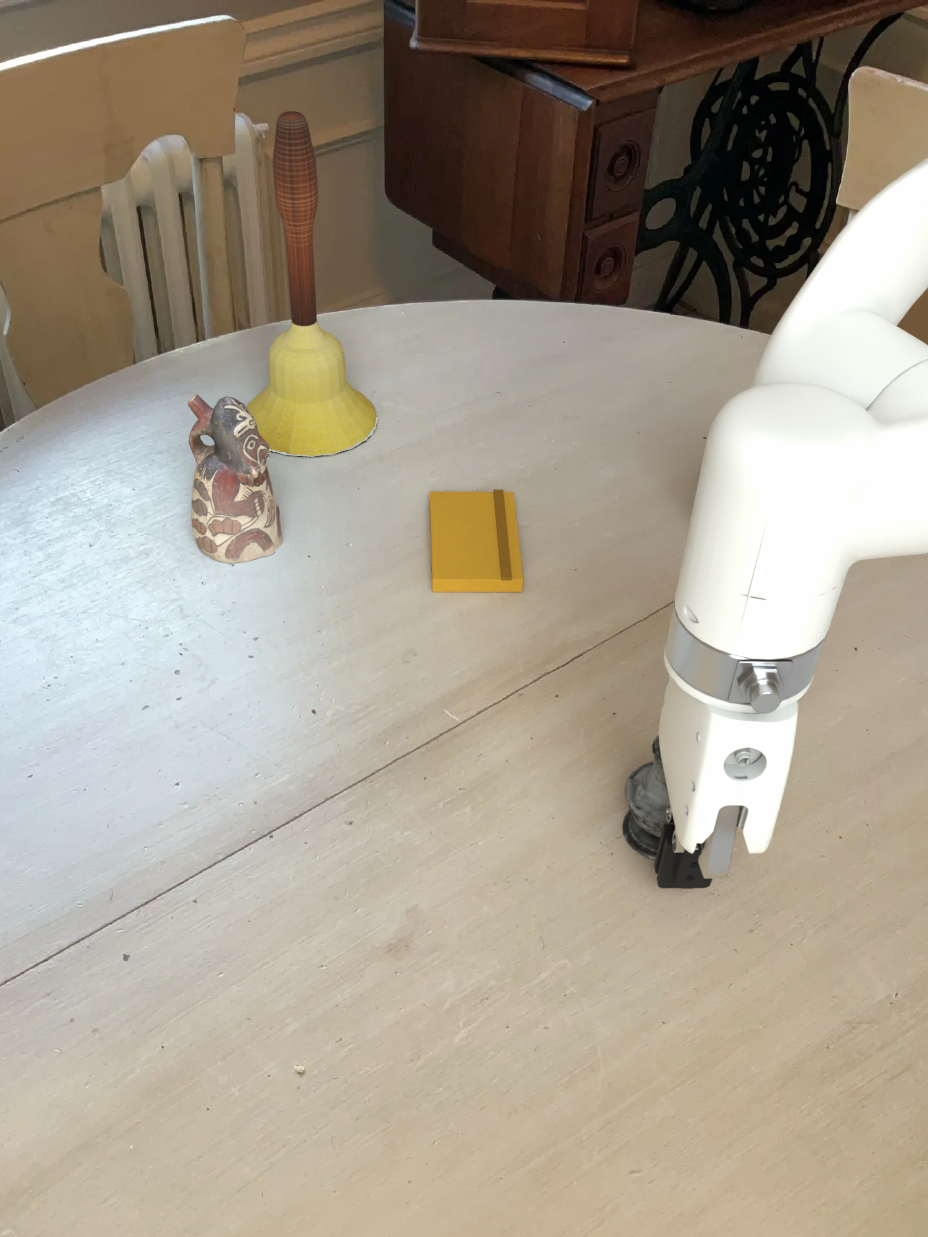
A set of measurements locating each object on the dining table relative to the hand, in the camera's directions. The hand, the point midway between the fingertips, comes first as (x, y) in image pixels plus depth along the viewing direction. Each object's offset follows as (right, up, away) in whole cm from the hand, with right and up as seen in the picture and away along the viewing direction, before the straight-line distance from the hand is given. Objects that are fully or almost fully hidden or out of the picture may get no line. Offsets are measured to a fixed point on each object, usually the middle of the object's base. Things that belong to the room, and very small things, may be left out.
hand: (681, 877), depth 76 cm
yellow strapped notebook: (-12, +26, +25) cm, 39 cm away
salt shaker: (0, +3, +6) cm, 6 cm away
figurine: (-31, +27, +25) cm, 48 cm away
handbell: (-27, +41, +37) cm, 61 cm away
